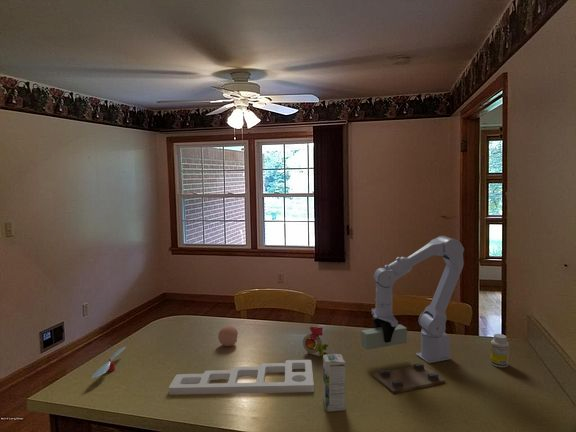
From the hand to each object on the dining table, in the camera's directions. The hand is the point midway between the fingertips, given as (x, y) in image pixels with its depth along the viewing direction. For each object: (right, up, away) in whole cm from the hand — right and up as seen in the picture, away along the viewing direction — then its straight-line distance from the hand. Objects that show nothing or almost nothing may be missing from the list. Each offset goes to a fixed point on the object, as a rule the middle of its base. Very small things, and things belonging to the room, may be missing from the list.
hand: (384, 339), depth 150 cm
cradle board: (+5, -9, -13) cm, 17 cm away
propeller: (-97, -11, -2) cm, 97 cm away
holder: (-49, -11, -10) cm, 51 cm away
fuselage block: (0, -2, 0) cm, 2 cm away
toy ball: (-58, -8, +18) cm, 61 cm away
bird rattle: (-24, -8, +8) cm, 27 cm away
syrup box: (-21, -11, -28) cm, 37 cm away
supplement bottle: (+39, -7, -5) cm, 40 cm away
